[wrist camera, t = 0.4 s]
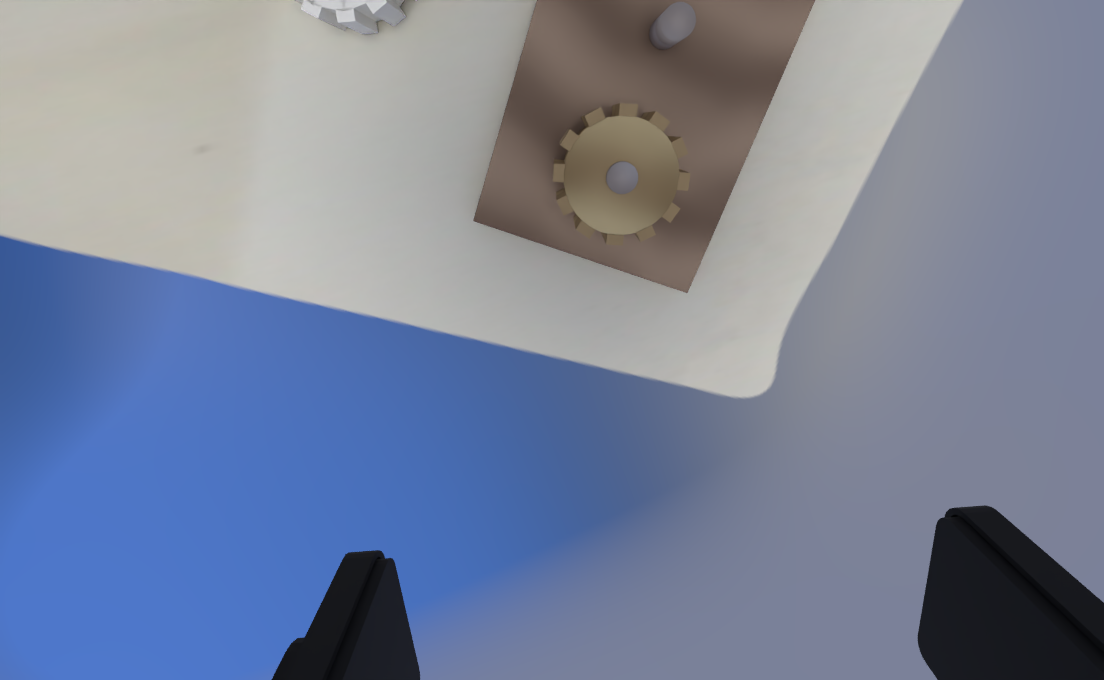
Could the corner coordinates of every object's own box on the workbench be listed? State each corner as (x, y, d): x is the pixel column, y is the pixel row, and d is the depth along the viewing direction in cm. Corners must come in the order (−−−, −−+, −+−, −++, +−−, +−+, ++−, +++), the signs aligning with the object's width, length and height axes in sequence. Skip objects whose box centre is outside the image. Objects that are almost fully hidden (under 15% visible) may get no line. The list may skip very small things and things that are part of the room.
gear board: (627, -305, 28) (652, -451, 21) (886, -187, 29) (992, -286, 22) (476, 217, 36) (457, 239, 29) (682, 286, 38) (711, 324, 31)
